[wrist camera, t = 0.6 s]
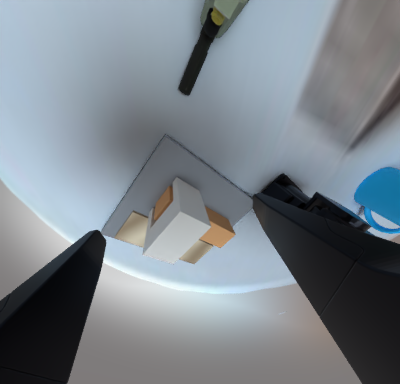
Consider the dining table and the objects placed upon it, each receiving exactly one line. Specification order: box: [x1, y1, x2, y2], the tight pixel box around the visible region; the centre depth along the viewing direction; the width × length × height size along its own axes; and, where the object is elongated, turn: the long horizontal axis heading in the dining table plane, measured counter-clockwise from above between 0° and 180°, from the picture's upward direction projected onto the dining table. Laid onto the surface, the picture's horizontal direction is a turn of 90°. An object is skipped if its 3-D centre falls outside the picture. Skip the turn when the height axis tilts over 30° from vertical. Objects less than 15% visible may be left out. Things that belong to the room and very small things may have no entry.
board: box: [101, 134, 253, 260], centre depth 25 cm, size 18×18×1 cm
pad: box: [114, 210, 213, 264], centre depth 27 cm, size 16×6×1 cm, turn 50°
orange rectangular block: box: [154, 186, 236, 248], centre depth 23 cm, size 12×4×4 cm, turn 50°
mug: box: [354, 167, 400, 234], centre depth 28 cm, size 12×8×8 cm
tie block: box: [143, 177, 211, 264], centre depth 19 cm, size 4×7×7 cm, turn 140°
